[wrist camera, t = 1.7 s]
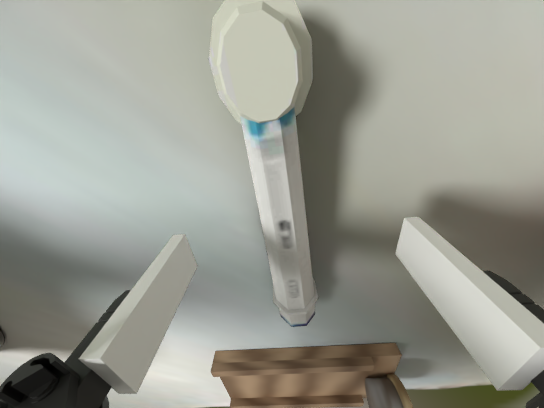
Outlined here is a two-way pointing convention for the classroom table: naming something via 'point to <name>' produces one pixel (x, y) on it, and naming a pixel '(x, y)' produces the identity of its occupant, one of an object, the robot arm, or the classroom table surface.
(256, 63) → the white massager wand
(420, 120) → the classroom table surface
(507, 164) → the classroom table surface
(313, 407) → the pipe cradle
